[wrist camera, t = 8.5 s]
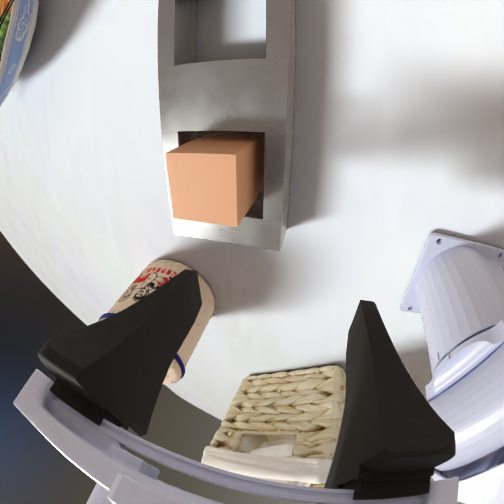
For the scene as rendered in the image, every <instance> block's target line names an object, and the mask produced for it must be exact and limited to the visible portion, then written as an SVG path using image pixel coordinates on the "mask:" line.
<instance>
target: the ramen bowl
mask: <svg viewBox="0 0 504 504" xmlns="http://www.w3.org/2000/svg"><path fill="white" fill-rule="evenodd" d="M38 6H39V0H0V106H1V105H2V103H3V102H4V100H5V99H6V97H7V96H8V94H9V92H10V91H11V89H12V87H13V85H14V84H15V82H16V81H17V79H18V77H19V74H20V72H21V70H22V67H23V65H24V62H25V59H26V57H27V54H28V52H29V49H30V45H31V41H32V37H33V34H34V30H35V27H36V21H37V13H38Z"/></svg>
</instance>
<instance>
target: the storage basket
mask: <svg viewBox="0 0 504 504" xmlns="http://www.w3.org/2000/svg"><path fill="white" fill-rule="evenodd" d="M345 393H346V374H345V372H344V370H343V368H341V367H339V366H325V367H321V368H310V369H306V370H295V371H291V372H288V373H287V372H277V373H273V374H262V375H259V376H248V377H246V378H245V379H243V380H242V382H241V385H240V387H239V389H238V391H237V393H236V394H235V397H234V398H233V400H232V402H231V405H230V407H229V410H228V412H227V413H226V414H225V418H224V420H223V421H222V423H221V427H220V428H219V430H217V432H216V433H215V435H214V438H213V440H212V441H211V445H210V446H206V447H205V450H204V452H203V457H202V461H201V463H203V464H206V465H209V466H212V467H215V468H219V469H222V470H226V471H229V472H233V473H237V474H240V475H245V476H249V477H253V478H258V479H262V480H267V481H272V482H278V483H284V484H290V485H298V486H306V487H315V488H324V486H325V483H326V480H327V477H328V474H329V471H330V467H331V464H332V461H333V457H334V453H335V449H336V445H337V441H338V437H339V432H340V428H341V423H342V417H343V411H344V405H345ZM234 419H235V420H234Z"/></svg>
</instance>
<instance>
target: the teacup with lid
mask: <svg viewBox="0 0 504 504" xmlns="http://www.w3.org/2000/svg"><path fill="white" fill-rule="evenodd" d="M185 269H188V270H192V269H191V268H189V267H187V266H186V265H184V264H181V263H179V262H176V261H172V260H157V261H154V262H152V263H150V264H149V265H148V266H147V267H146V268H145V269H144V270H143V271H142V273H141V274H140V275H139V276H138V277H137V278H136V279H135V281H134V282H133V283H132V284H131V285H130V286H129V288H128V289H127V290H126V291H125V292H124V293H123V295H122V296H121V297H120V298H119V299H118V301H117V302H116V303H115V304H114V305H113V307H112V308H111V309H110V310H109V312H108V313H106V314H104V315H102V316H101V317H100V319H99V321H101V320H103V319H105V318H108V317H110V316H112V315H114V314H116V313H118V312H120V311H122V310H124V309H126V308H127V307H129V306H131V305H133V304H134V303H136V302H137V301H139V300H140V299H142V298H144V297H145V296H147V295H148V294H150V293H151V292H153V291H154V290H156V289H157V288H159V287H160V286H162V285H163V284H164V283H166V282H167V281H169V280H170V279H171V278H173V277H174V276H176V275H177V274H179V273H180V272H182V271H183V270H185ZM193 271H194V270H193ZM198 280H199V286H200V292H201V299H202V306H201V308H200V311H199V313H198V316H197V318H196V321H195V323H194V324H193V326H192V328H191V330H190V332H189V333H188V335H187V337H186V339H185V340H184V342H183V344H182V345H181V347H180V349H179V351H178V352H177V354H176V356H175V358H174V359H173V361H172V363H171V365H170V367H169V370H168V372H167V375H166V377H165V379H164V382H163V384H173V383H176V382H178V381H179V380H180V379H181V378H182V377H183V376H184V374H185V366H186V364H187V362H188V360H189V358H190V356H191V355H192V353H193V351H194V349H195V347H196V345H197V343H198V341H199V339H200V337H201V335H202V333H203V331H204V329H205V327H206V325H207V324H208V322H209V320H210V318H211V316H212V314H213V312H214V308H215V300H214V296H213V293H212V291H211V289H210V287H209V286H208V284H207V283H206V282H205V280H204V279H203V278H202V277H201V276H200V275H199V274H198Z"/></svg>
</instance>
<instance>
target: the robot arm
mask: <svg viewBox="0 0 504 504" xmlns="http://www.w3.org/2000/svg"><path fill="white" fill-rule="evenodd" d="M438 239H441V240H440V241H439V242H436V241H437V240H438ZM499 254H500V255H499ZM201 306H202V299H201V292H200V286H199V280H198V273H197V271H193V270H188V269H185V270H183V271H182V272H180V273H179V274H177V275H176V276H174V277H173V278H171V279H170V280H169V281H167V282H166V283H164V284H163V285H162V286H160V287H159V288H157V289H156V290H154V291H153V292H151V293H150V294H148V295H147V296H145V297H144V298H142V299H140V300H139V301H137V302H136V303H134V304H133V305H131V306H129V307H127V308H126V309H124V310H122V311H120V312H118V313H116V314H114V315H112V316H110V317H108V318H105V319H103V320H101V321H98V322H96V323H94V324H91V325H88V326H86V327H83V328H80V329H76V330H74V331H69V332H66V333H61V334H57V335H53V336H51V338H50V339H49V340H48V341H47V343H46V344H45V345H44V347H43V348H42V349H41V350H40V352H39V353H38V356H39V359H40V360H41V361H42V362H43V364H44V365H45V366H46V367H47V369H48V370H49V371H50V372H51V373H52V374H53V375H54V376H55V378H56V381H55V382H52V380H50V379H49V378H48V377H47V376H45V375H44V374H43V373H41V372H40V371H39V370H38V369H36V370H35V372H34V373H33V375H32V376H31V377H30V379H29V380H28V382H27V383H26V384H25V386H24V387H23V389H22V390H21V392H20V393H19V395H18V396H17V398H16V399H15V401H14V402H13V403H14V405H15V406H16V407H17V408H18V409H19V410H20V411H21V412H22V414H23V415H24V416H25V417H26V418H27V419H28V420H29V421H30V422H31V423H32V424H33V425H34V426H35V427H36V428H37V429H38V430H39V431H40V433H42V435H43V436H44V437H45V438H47V440H48V441H49V442H50V443H51V444H52V445H53V446H55V447H56V448H57V449H58V450H59V451H60V452H61V453H62V454H63V455H64V456H65V457H67V458H68V459H69V460H70V461H71V462H72V463H73V464H75V465H76V466H77V467H78V468H79V469H81V470H82V471H83V472H84V473H86V474H87V475H88V476H89V477H91V478H92V479H93V480H95V481H96V482H97V484H96V486H95V488H94V490H93V492H92V494H91V496H90V498H89V500H88V502H87V503H86V504H223V503H219V502H216V501H213V500H210V499H207V498H204V497H200V496H197V495H195V494H192V493H189V492H186V491H183V490H181V489H178V488H176V487H174V486H171V485H169V484H166V483H164V482H162V481H159V480H157V476H158V474H159V472H160V471H159V469H157V468H155V467H153V466H151V465H150V464H148V463H146V462H145V461H143V460H142V459H140V458H138V457H136V456H134V455H132V454H130V453H128V452H127V451H126V448H125V447H127V448H129V449H131V450H133V451H135V452H137V453H139V454H141V455H143V456H145V457H147V458H149V459H151V460H153V461H156V462H158V463H160V464H163V465H165V466H167V467H169V468H172V469H175V470H177V471H179V472H182V473H185V474H187V475H190V476H193V477H195V478H198V479H201V480H204V481H207V482H211V483H213V484H217V485H220V486H224V487H227V488H231V489H234V490H238V491H243V492H247V493H251V494H255V495H260V496H265V497H271V498H277V499H282V500H289V501H297V502H305V503H316V504H457V501H458V502H462V503H465V504H504V249H501V248H497V247H494V246H490V245H486V244H482V243H478V242H474V241H470V240H465V239H461V238H457V237H453V236H448V235H444V234H439V233H430V234H429V235H428V237H427V240H426V243H425V246H424V248H423V251H422V254H421V257H420V259H419V262H418V264H417V267H416V269H415V272H414V274H413V277H412V279H411V281H410V284H409V286H408V288H407V291H406V293H405V295H404V297H403V300H402V302H401V304H400V309H401V310H402V311H406V312H414V313H421V316H422V321H423V326H424V330H425V335H426V341H427V346H428V352H429V358H430V364H431V372H432V380H431V382H430V383H429V384H427V385H426V386H425V388H426V399H425V397H424V396H423V395H422V393H421V392H420V391H419V389H418V388H417V386H416V385H415V383H414V382H413V380H412V379H411V377H410V375H409V374H408V372H407V370H406V368H405V367H404V365H403V363H402V361H401V359H400V357H399V355H398V353H397V351H396V349H395V347H394V345H393V343H392V341H391V339H390V337H389V335H388V332H387V330H386V328H385V326H384V323H383V321H382V319H381V316H380V314H379V311H378V309H377V307H376V304H375V303H374V302H371V301H365V300H360V303H359V305H358V308H357V311H356V314H355V316H354V319H353V322H352V324H351V327H350V329H349V333H348V342H347V351H346V393H345V405H344V411H343V417H342V423H341V428H340V432H339V437H338V441H337V445H336V449H335V453H334V457H333V461H332V464H331V467H330V471H329V474H328V477H327V480H326V483H325V486H324V488H315V487H306V486H298V485H290V484H284V483H278V482H272V481H267V480H262V479H258V478H253V477H249V476H245V475H240V474H237V473H233V472H229V471H226V470H222V469H219V468H215V467H212V466H209V465H206V464H203V463H200V462H197V461H194V460H191V459H188V458H186V457H183V456H181V455H178V454H175V453H173V452H171V451H168V450H166V449H163V448H161V447H158V446H156V445H154V444H152V443H150V442H148V441H146V440H144V439H141V438H139V437H137V436H135V435H133V434H131V433H129V432H127V431H126V430H129V431H131V432H133V433H135V434H137V435H139V436H142V435H145V434H147V431H148V427H149V423H150V420H151V416H152V413H153V410H154V407H155V403H156V401H157V397H158V395H159V392H160V390H161V387H162V384H163V382H164V379H165V377H166V375H167V372H168V370H169V367H170V365H171V363H172V361H173V359H174V358H175V356H176V354H177V352H178V351H179V349H180V347H181V345H182V344H183V342H184V340H185V339H186V337H187V335H188V333H189V332H190V330H191V328H192V326H193V324H194V323H195V321H196V318H197V316H198V313H199V311H200V308H201ZM409 306H411V307H409ZM120 427H122V428H124V429H125V430H124V429H122V428H120ZM430 476H431V477H432V478H433V479H434V481H433V482H430Z"/></svg>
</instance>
